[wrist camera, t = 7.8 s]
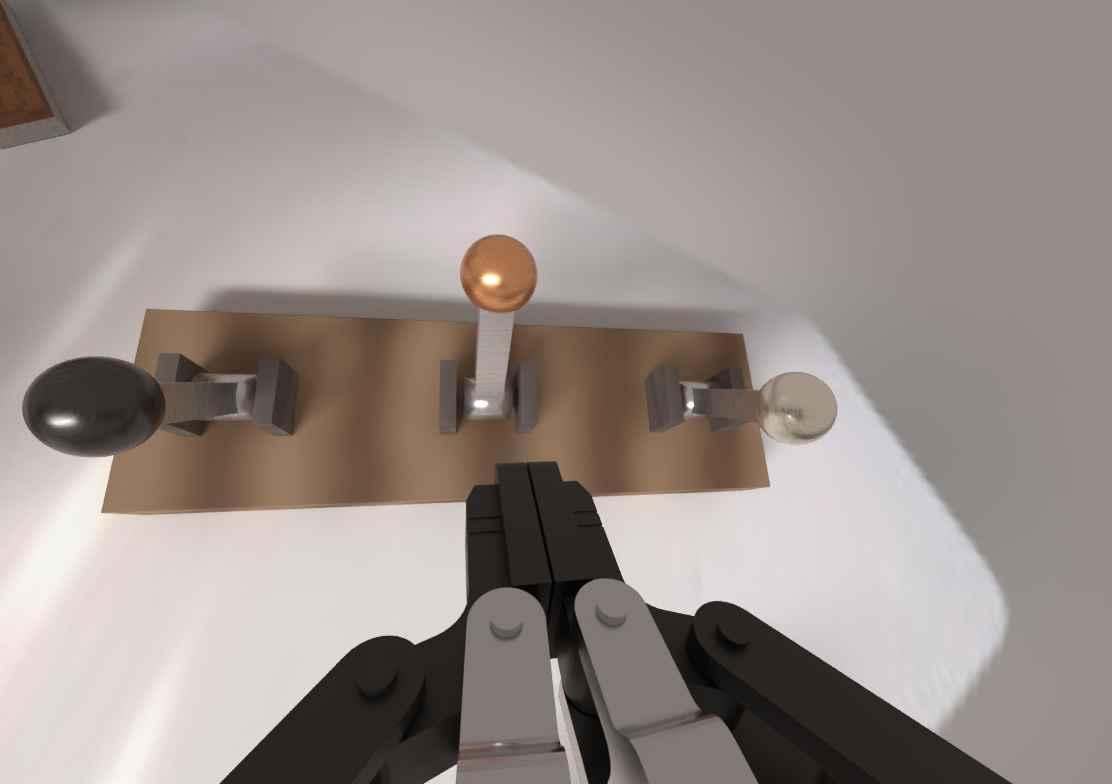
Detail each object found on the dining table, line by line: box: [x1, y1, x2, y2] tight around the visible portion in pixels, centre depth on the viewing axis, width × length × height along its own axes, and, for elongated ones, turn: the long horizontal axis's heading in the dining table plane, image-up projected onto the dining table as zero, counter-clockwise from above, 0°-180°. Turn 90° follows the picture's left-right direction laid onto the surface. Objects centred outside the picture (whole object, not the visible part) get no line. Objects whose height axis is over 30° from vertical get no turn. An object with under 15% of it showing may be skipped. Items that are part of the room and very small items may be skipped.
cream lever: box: [679, 372, 837, 445], centre depth 22 cm, size 3×3×11 cm
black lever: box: [22, 356, 258, 457], centre depth 17 cm, size 3×3×11 cm
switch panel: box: [101, 309, 770, 515], centre depth 25 cm, size 34×10×6 cm, turn 92°
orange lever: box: [460, 235, 537, 420], centre depth 21 cm, size 3×3×11 cm
